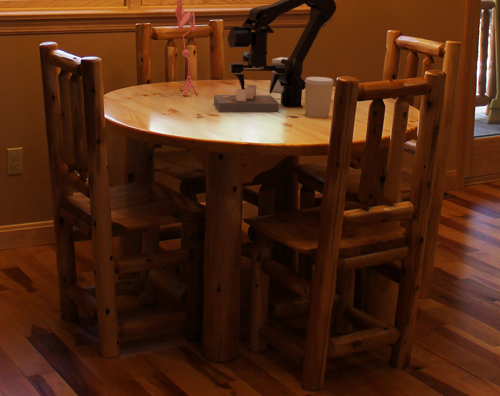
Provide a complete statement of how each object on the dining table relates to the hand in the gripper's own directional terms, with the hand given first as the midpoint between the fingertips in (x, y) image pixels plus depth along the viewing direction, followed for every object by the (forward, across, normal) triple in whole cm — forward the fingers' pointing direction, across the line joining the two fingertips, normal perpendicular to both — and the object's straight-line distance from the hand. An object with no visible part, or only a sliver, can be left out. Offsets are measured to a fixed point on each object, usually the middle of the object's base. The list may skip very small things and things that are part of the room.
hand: (256, 93), depth 239 cm
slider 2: (+2, +1, -4) cm, 5 cm away
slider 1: (+1, +6, +5) cm, 8 cm away
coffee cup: (+5, -18, +12) cm, 22 cm away
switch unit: (+5, +4, 0) cm, 6 cm away
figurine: (+5, +25, -26) cm, 36 cm away
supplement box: (+5, -16, -32) cm, 37 cm away
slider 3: (+2, +3, 0) cm, 3 cm away
